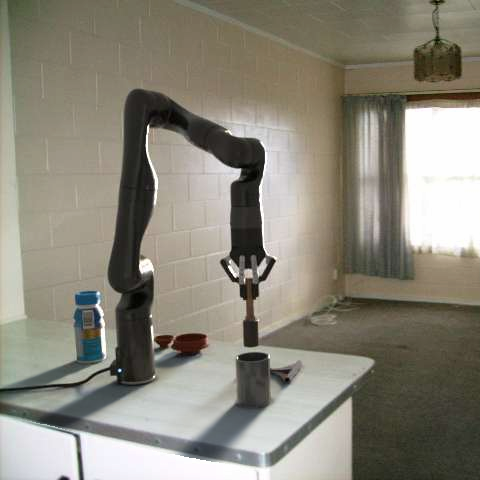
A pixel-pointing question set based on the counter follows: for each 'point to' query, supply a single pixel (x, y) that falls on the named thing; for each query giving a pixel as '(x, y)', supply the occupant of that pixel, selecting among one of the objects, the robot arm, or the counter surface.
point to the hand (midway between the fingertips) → (249, 299)
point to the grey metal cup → (253, 379)
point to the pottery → (184, 342)
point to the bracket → (287, 371)
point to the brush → (250, 318)
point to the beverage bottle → (89, 328)
